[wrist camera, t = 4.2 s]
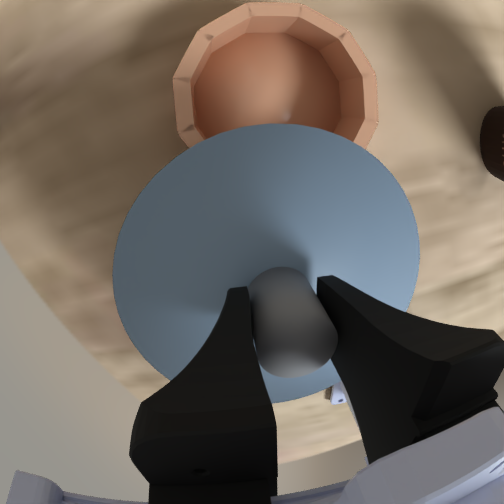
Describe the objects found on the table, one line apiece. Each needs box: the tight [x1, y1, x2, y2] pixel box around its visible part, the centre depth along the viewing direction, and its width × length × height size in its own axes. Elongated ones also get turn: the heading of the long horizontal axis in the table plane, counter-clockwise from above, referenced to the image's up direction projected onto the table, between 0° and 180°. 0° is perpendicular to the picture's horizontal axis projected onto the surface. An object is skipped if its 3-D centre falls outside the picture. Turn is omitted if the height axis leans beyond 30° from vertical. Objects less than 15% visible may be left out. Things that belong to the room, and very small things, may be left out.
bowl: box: [172, 2, 379, 150], centre depth 15 cm, size 10×10×4 cm
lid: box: [112, 124, 420, 403], centre depth 11 cm, size 13×13×4 cm
